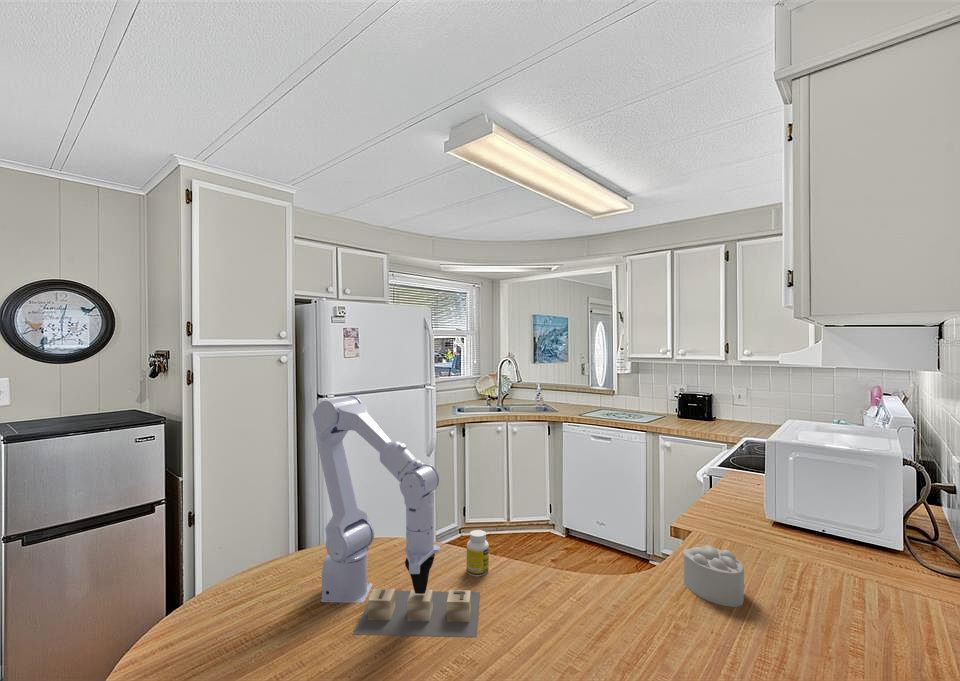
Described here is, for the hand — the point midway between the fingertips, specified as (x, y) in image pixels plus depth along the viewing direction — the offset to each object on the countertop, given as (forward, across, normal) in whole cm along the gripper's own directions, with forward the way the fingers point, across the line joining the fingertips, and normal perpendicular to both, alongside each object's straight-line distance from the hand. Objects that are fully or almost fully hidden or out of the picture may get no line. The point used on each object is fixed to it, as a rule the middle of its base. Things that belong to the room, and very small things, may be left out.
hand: (420, 591), depth 99 cm
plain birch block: (+5, 0, 0) cm, 5 cm away
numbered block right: (+5, 0, -8) cm, 9 cm away
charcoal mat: (+5, +1, 0) cm, 5 cm away
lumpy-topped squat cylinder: (+6, +13, -65) cm, 67 cm away
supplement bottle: (+6, +19, -11) cm, 23 cm away
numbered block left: (+5, 0, +8) cm, 9 cm away
